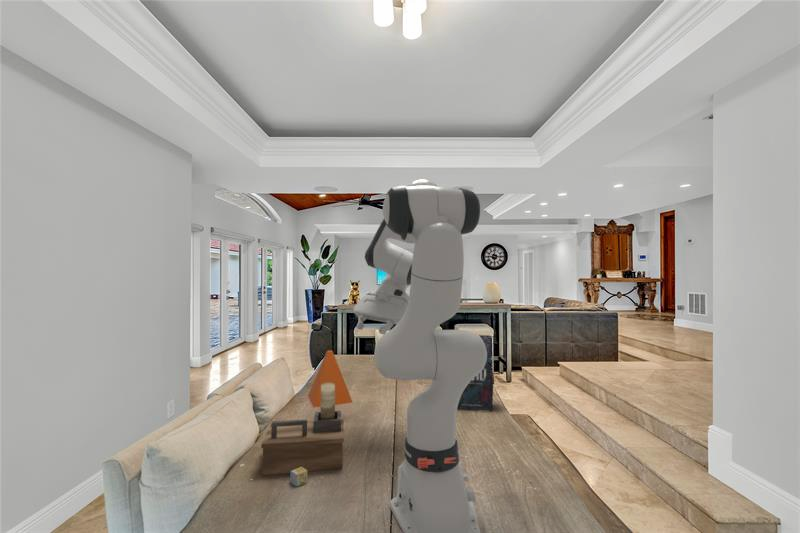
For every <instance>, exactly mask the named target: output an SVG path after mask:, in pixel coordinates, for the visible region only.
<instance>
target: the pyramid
mask: <svg viewBox="0 0 800 533" xmlns="http://www.w3.org/2000/svg"><path fill="white" fill-rule="evenodd" d="M323 383H334V384H335V406H337V405H344V404H351V403H353V400H352V396H351V395H350V392H349V390H348V387H347V384H346V382H345V380H344V377H343V374H342V371H341V368H340V366H339V364H338V361H337V359H336V357H335V354H334V352H333V350H326V352H325V354H324V357H323V360H322V362H321V363H320V366H319V369H318V371H317V373H316V376H315V378H314V380H313V383H312V385H311V386H310V387H311V388H310V390H309V392H308V393H307V397H308V398H309V401H310V404H311V406H312V408H321V384H323Z"/></svg>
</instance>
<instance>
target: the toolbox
mask: <svg viewBox="0 0 800 533" xmlns="http://www.w3.org/2000/svg"><path fill="white" fill-rule="evenodd" d="M313 418H314V419H313V420H310V421H309V420H308V419H291V420H277V421H276V420H273V421H272V422H271V424H270V425H269V427H268V429H267V431H266V434H265V436H264V438H263V440H262V442H261V443H260V444H261V445H260V446H261V447H260V448H261V449H262V475H263V476H264V475H278V474H290V473H291V471H292V470H295V469H297V468H300V467H303V468H304V469H306V470H307V472H313V471H314V472H315V471H316V472H317V471H328V470H340V469H342V470H343V456H344V455H343V452H344V451H343V449H344V447H343V443H344V441H345V436H344V434H345V432H344V431H345V430H344V427H345V426H344V423H345V422H344V421H345V420H344V418H342V411H341V410H335V419H330V420H321V411H315V412H314V417H313Z"/></svg>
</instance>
